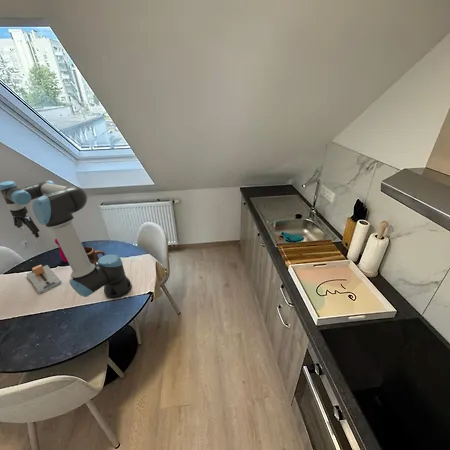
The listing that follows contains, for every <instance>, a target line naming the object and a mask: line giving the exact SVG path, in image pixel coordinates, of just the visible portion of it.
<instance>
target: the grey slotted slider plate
mask: <svg viewBox="0 0 450 450" xmlns="http://www.w3.org/2000/svg"><path fill="white" fill-rule="evenodd" d="M42 267H43V269H44V271H45V272H43V273H41V274H39V275H37V276H36V275H35V274H34V272H33V270H31V271H30V272H27V273H26V274H25V275H26V277H27V278H28V279H29V281H30V282H31V284H32V283H33V284H32V285H33V287H34V286H35V287H34V289H35V290H36V291H37V292H38V293H39V295H41V294H43V293H45V292H47V291H49V290H51V289H54V288H55V287H57V286H59V285H61V284H62V280H61V279H60V278H59V277H58V276H57V274H56V273H55V272H54V270H52V269H51V268H50V266H49V265H48V264H46V265H44V266H43V265H42ZM46 290H47V291H46ZM44 291H45V292H44ZM42 292H43V293H42Z"/></svg>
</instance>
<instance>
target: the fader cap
mask: <svg viewBox="0 0 450 450" xmlns="http://www.w3.org/2000/svg"><path fill="white" fill-rule="evenodd" d="M31 269H32V270H31V271H33V272H34V274H35V275H36V276H37V275H39V274H41V273H43V272H45V271H44V269H43V265H42V264H39V265H36V266H34V267H32V268H31Z"/></svg>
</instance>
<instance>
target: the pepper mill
mask: <svg viewBox="0 0 450 450" xmlns="http://www.w3.org/2000/svg"><path fill="white" fill-rule="evenodd" d="M54 242H55V244H56V245H57V247H58V248H59V257H60V258H61V260H62V262H64V263H69V262H68V260H67V258H66V256H65V254H64V252H63V250H62V248H61V246H60V244H59V242H58V240H57V238H56V237H55V239H54Z"/></svg>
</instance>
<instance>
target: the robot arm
mask: <svg viewBox="0 0 450 450" xmlns="http://www.w3.org/2000/svg"><path fill="white" fill-rule="evenodd" d="M0 193H1V195H2V197H3V199H4V201H5V204H6V206H7V208H8V210H9V212H10V214H11V216H12V218H13V225H14V226H15V227H16V228H17V229H18V231H19V233H20V235H21V237H22V238H25V237H27V236H28V233H27V231H26V229H25V227H24V226H26V227H27V228H28V229H29V231H30V232H31V235H32V237H33V238H34V241H35V243H39V242H41V241H42V238H41V237H40V233H39V232H40V229H39V228H38V227H37V225H36V224H35V222H34V220H33V219H32V218H31V216H28V215H27V214H28V213H29V211H28V209H27V206H26V205H28V204H29V203H30V202H31V201H32V203H31V204H32V205H31V206H32V212H33V215H34V218H35V219H36V220H37V222H38V223H39V224H40V225H44V226H45V227H46V228H47V229H50V230H51V231H52V233H53V234H54V237H55V239H56V238H57V240H58V242H59V244H60V246H61V248H62V250H63V252H64V254H65V256H66V258H67V260H68V262H67V263H68V264H69V266H70V268H71V271H72V272H71V273H70V276H71V279H70V280H69V284H70V286H71V288H72V289H73V290H74V291H75V293H77V294H78V295H80V296H81V297H84V298H87V297H89V296H90V295H92V294H94V293H95V292H97V291H98V290H101V288H103V292H104V296H105V297H106V298H108V299H113V300H114V299H119V298H122V297H124V296H126V295H127V294H128V293H130V291H131V290H132V288H133V287H132V282H131V280H130V279H129V277H127V275H126V272H125V268H124V264H123V261H122V259H121V257H120V256H119V255H117V254H106V255H105V256H103V255H102V256H100V257H98V258H99V259H98V263H96V264H97V265H96V266H95V265H94V264H91V263H90V261H89V259H88V256H87V254H86V252H85V250H84V246H83V243H82V241H81V239H80V237H79V235H78V232H77V231H76V228H75V226H74V224H73V221H74V216H73V214H74V213H76V212H79V211H81V210H82V209H84V208H85V206H86V205H87V201H88V196H87V193H86V191H85V190H84V189H83V188H81V187H79V186H77V185H76V186H75V185H68V186H65V185H60V184H56V183H55V182H54V181H52V180H46V181H45V180H44V181H41V182H38V183H34V184H31V185H27V186H24V187H21V188H18V185H17V184H16V182H15V181H13V180H7V181H2V182H0Z"/></svg>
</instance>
